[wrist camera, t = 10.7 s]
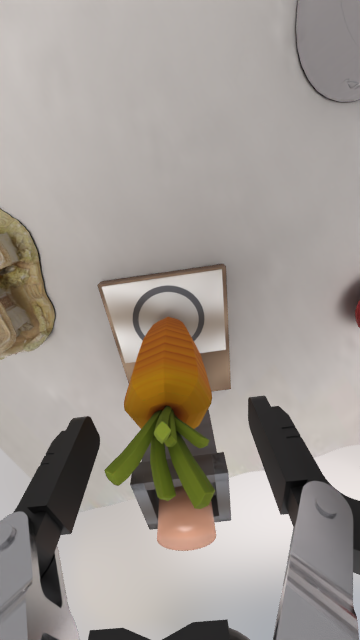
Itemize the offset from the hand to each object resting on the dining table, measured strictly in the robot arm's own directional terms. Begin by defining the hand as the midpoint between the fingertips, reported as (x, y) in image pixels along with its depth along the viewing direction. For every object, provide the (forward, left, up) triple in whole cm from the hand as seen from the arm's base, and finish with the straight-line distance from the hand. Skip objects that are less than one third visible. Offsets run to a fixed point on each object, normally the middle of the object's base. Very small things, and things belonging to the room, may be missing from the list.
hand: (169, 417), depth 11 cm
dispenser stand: (+3, 0, -13) cm, 13 cm away
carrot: (0, 0, -12) cm, 12 cm away
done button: (+8, 0, 0) cm, 8 cm away
